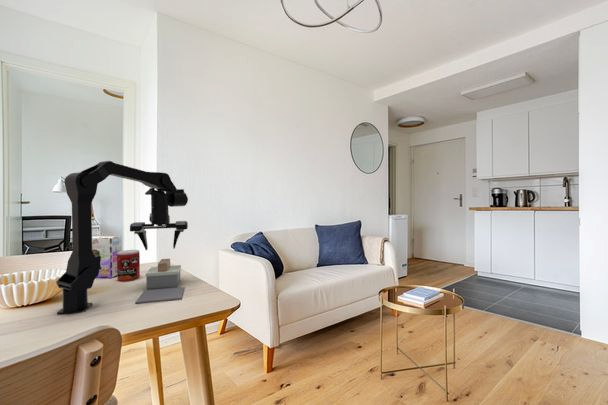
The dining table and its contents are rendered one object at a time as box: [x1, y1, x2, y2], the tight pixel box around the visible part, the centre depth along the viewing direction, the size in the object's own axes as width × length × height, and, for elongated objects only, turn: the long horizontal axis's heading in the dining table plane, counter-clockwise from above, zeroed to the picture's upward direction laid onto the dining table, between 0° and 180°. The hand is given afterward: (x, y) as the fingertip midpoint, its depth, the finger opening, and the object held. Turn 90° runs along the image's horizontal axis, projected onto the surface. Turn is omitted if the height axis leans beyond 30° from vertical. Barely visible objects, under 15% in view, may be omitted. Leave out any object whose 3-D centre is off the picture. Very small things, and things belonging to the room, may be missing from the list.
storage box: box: [145, 270, 181, 290], centre depth 109 cm, size 10×10×5 cm
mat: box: [134, 286, 186, 305], centre depth 97 cm, size 12×13×1 cm
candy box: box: [92, 235, 122, 279], centre depth 122 cm, size 14×6×16 cm, turn 84°
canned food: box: [116, 249, 141, 282], centre depth 118 cm, size 8×8×11 cm
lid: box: [145, 258, 182, 277], centre depth 109 cm, size 10×10×5 cm
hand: (160, 249), depth 109 cm, fingers open, 9 cm apart
